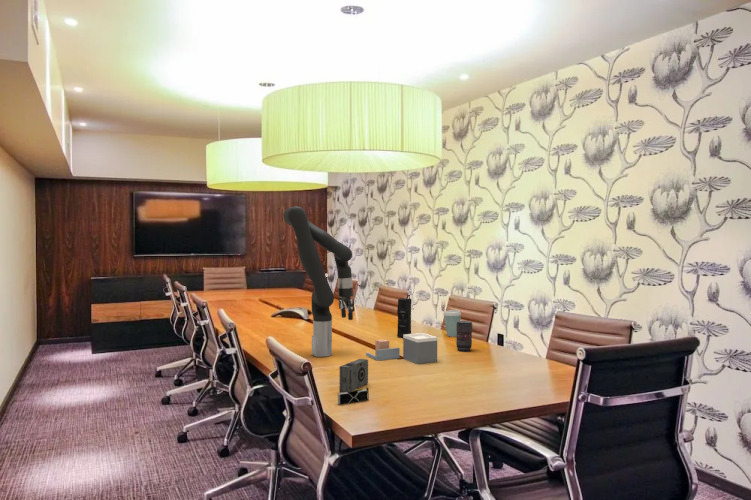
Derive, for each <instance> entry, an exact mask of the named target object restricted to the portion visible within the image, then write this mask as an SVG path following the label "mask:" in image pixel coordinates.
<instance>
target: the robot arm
mask: <svg viewBox="0 0 751 500" xmlns="http://www.w3.org/2000/svg"><path fill="white" fill-rule="evenodd" d="M283 220H284V222H285V223H286V224H287V225H289V226H291V228H292V229H293V231H294V233H295V237H296V243H297V253H298V257H299V260H300V263H301V265H302V268H303V269H304V272H305V273H306V275H307V276H308V278H309V279H310V281H311V283H312V285H313V288H314V290H313V292H312V293H311V301H310V302H311V315H312V335H311V355H312V356H313V357H315V358H318V357H319V358H320V357H321V358H322V357H323V358H325V357H330V356H332V355H333V315H332V313H331V310H330V307H331V306H332V305H334V304H333V303H334V300H335V295H334V292H333V290H332V287H331V286H330V284H329V281H328V279H327V276H326V273H325V270H324V266H323V263H322V261H321V258H320V257H321V256H320V255H319V251H318V248H317V245H316V244H318V245H319V246H320V247H321V248H323V249H324V250H326V251H328V252H330V253H331V254H334V255H333V256H334V262H335V267H336V269H337V294H338V309H340V312H341V314H340V315H341V318H342V319H343V318H346V317H347V319H348V320H349V321H352V320H354V318H353V317H354V316H353V315H354V314H353V313H354V312H355V311H356V310H355V300H354V298H353V299H352V298H351V297H353V296H354V286H353V285H354V283H353V278H352V268H351V266H350V265H349V261H351V260H352V258H353V252H352V249H350V247H348V246H347V245H345V244H343V243H342V242H340V241H338V240H337V239H336V238H334V236H333V235H331V234H329V233H328V232H327V231H326V230H324V229H322V228H320V227H318V226H317V225H315V224H314V223H312V222H311V221H310V220H308V217H307V213H306V211H305V209H303V208H302V207H301V206H297V205H295V206H290V207H288V208H286V209H285V210H284V212H283ZM346 310H347V311H346Z"/></svg>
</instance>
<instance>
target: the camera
mask: <svg viewBox="0 0 751 500" xmlns="http://www.w3.org/2000/svg"><path fill="white" fill-rule="evenodd" d="M367 383H368V384H369V359H364V358H359V359H356V360H353V361H350V362H347V363H345V364H343V365H339V387H338V388H339V393H344V392H347V393H348V392H352V391H353V390H355V389H357V388H358V389H360V388H362V387H364V386H366V385H368V384H367ZM365 384H366V385H365ZM363 385H364V386H363ZM361 386H362V387H361ZM359 387H360V388H359Z"/></svg>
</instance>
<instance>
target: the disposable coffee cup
mask: <svg viewBox="0 0 751 500" xmlns="http://www.w3.org/2000/svg"><path fill="white" fill-rule="evenodd" d="M461 318H462V312H461V310H458V309H449V310H445V311H444V312H443V319H444V325H445V332H446V335H447V337H449V336H450V337H449V338H455V337H456V338H457V332H456V324H457V321H461Z"/></svg>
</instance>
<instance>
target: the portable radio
mask: <svg viewBox="0 0 751 500" xmlns="http://www.w3.org/2000/svg"><path fill="white" fill-rule="evenodd" d="M408 295H409V297H408V298H405V297H400V298H398V299H397V309H396V315H397V333H396V334H397V338H399V337H400V338H402V339H403V335H405V334H412V302H413V301H412V298H411V294H408Z"/></svg>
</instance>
